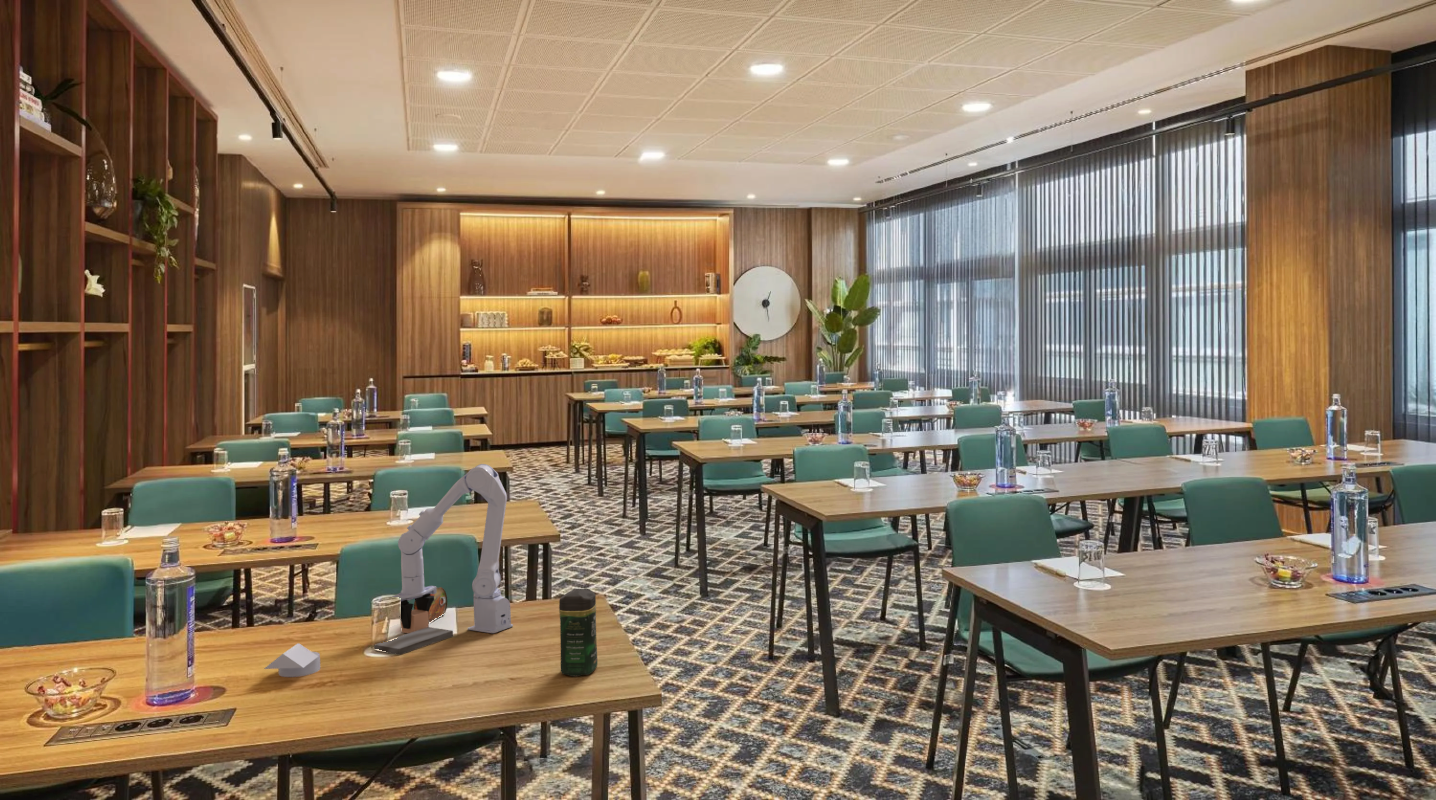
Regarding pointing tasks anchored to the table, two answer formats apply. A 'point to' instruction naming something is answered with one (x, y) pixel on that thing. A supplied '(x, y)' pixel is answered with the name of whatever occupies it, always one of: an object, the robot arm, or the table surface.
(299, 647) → the wedge on round base
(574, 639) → the coffee jar
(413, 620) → the cube
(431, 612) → the tin
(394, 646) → the charcoal board
